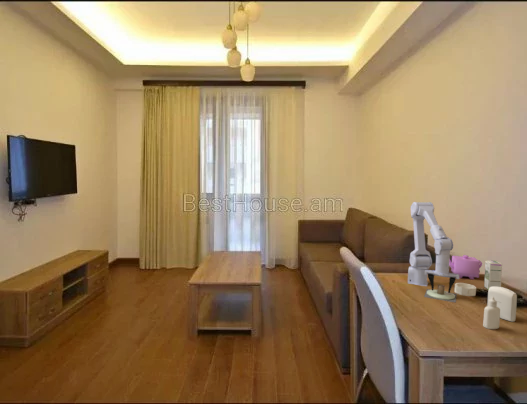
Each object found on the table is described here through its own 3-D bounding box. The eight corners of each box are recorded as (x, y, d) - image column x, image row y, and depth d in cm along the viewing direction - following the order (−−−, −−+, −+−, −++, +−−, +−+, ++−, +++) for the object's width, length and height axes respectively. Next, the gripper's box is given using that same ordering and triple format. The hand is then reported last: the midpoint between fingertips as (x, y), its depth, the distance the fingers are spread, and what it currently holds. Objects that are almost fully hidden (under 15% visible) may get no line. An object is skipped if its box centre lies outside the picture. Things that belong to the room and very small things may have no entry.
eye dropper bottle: (480, 323, 133) (483, 294, 132) (497, 326, 131) (499, 296, 130) (484, 328, 128) (486, 298, 127) (501, 330, 127) (503, 300, 126)
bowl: (454, 294, 165) (454, 286, 165) (454, 289, 173) (455, 281, 172) (475, 298, 160) (476, 290, 160) (475, 292, 168) (475, 284, 168)
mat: (423, 297, 160) (423, 296, 160) (426, 289, 171) (426, 288, 171) (455, 303, 153) (455, 302, 153) (456, 294, 165) (456, 293, 165)
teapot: (478, 275, 197) (479, 254, 196) (483, 280, 188) (485, 258, 187) (440, 272, 204) (441, 251, 203) (443, 277, 194) (445, 255, 193)
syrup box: (501, 291, 171) (503, 263, 169) (488, 290, 172) (490, 262, 171) (495, 287, 176) (497, 260, 175) (483, 286, 177) (485, 259, 176)
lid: (425, 296, 160) (426, 286, 160) (428, 289, 171) (428, 280, 170) (454, 301, 154) (455, 291, 154) (455, 294, 164) (455, 284, 164)
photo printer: (484, 313, 143) (486, 284, 142) (490, 311, 145) (492, 283, 144) (511, 322, 134) (513, 292, 133) (517, 320, 136) (519, 291, 135)
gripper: (424, 263, 161) (423, 290, 163) (459, 267, 154) (457, 296, 155) (426, 259, 167) (424, 286, 169) (460, 264, 160) (458, 292, 161)
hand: (440, 291), depth 162 cm, fingers open, 6 cm apart
